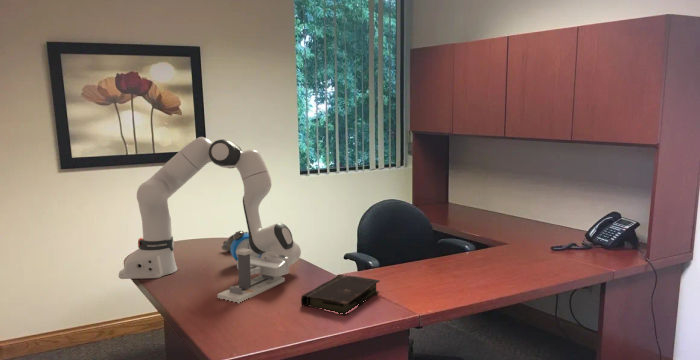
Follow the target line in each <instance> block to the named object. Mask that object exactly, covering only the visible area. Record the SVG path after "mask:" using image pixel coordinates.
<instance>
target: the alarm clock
mask: <svg viewBox="0 0 700 360" xmlns="http://www.w3.org/2000/svg"><path fill="white" fill-rule="evenodd" d="M242 231H243V230H239V231H236V232H235V233H234V234H233V235H234V236H233V239H234V240H233V242H232V244H231V251H230V254H231V257H232V258H233V259H234V260H235V261H236V262H237V260H238V254H236V250H239V249H242V248H245V249H250V250H252V249H251V247H250V245H249V233H248V231H243V232H245V234H244V233H243V232H242ZM250 256H251V257H258V258H260V257H261V255H259V254H257V253H255V252H254V251H253V250H252V253H250Z"/></svg>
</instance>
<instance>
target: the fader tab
mask: <svg viewBox="0 0 700 360" xmlns="http://www.w3.org/2000/svg"><path fill="white" fill-rule="evenodd" d="M250 253H252V250H250V249H245V248H242V249H239V250H236V254H238V269H237V270H238V285H239V288H242V289H244V290H246V289H248V288H250V287H251V279H252V277H251V276H252V275H251V274H250Z"/></svg>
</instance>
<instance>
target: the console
mask: <svg viewBox="0 0 700 360" xmlns="http://www.w3.org/2000/svg"><path fill="white" fill-rule="evenodd" d="M285 281H286V279H285V277H283V276H280V277H274V276H269V275H264V274H259V276H256V277H254V278H251V287H250V288H248V289H246V290H244V289H242V288H239V284H238V285H235V286H234V285H233V286H232V285H231V286H229V289H226V290H224V291H222V292H219V293H217V299H219V298H220V300H223V299H225V300H224V301H227V300H229V301H228V302H231V301H233V302H232V303H235V302H237V303H236V304H241V303H242V301H243V302H244V300H245V301H247V300H249V299H251V298H253V297H255V296H257V295H259V294H261V293H263V292H265V291H268V290H270V289H272V288H274V287H276V286H278V285H280V284H282V283H284V282H285ZM248 298H249V299H248ZM246 299H247V300H246ZM240 302H241V303H240Z"/></svg>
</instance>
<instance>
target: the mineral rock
mask: <svg viewBox="0 0 700 360" xmlns="http://www.w3.org/2000/svg"><path fill="white" fill-rule="evenodd" d="M241 231H242V232H243V233H244V234H245V232H246V231H243V230H241ZM247 232H248V231H247ZM248 233H249V232H248ZM233 236H234V234H231V236H229V237H228V239H227V240H224V241H223V242H222V244H223V245H222V246H221V249H222V250H223V251H226V252H231V244H232V242H233V240H234V239H233Z"/></svg>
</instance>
